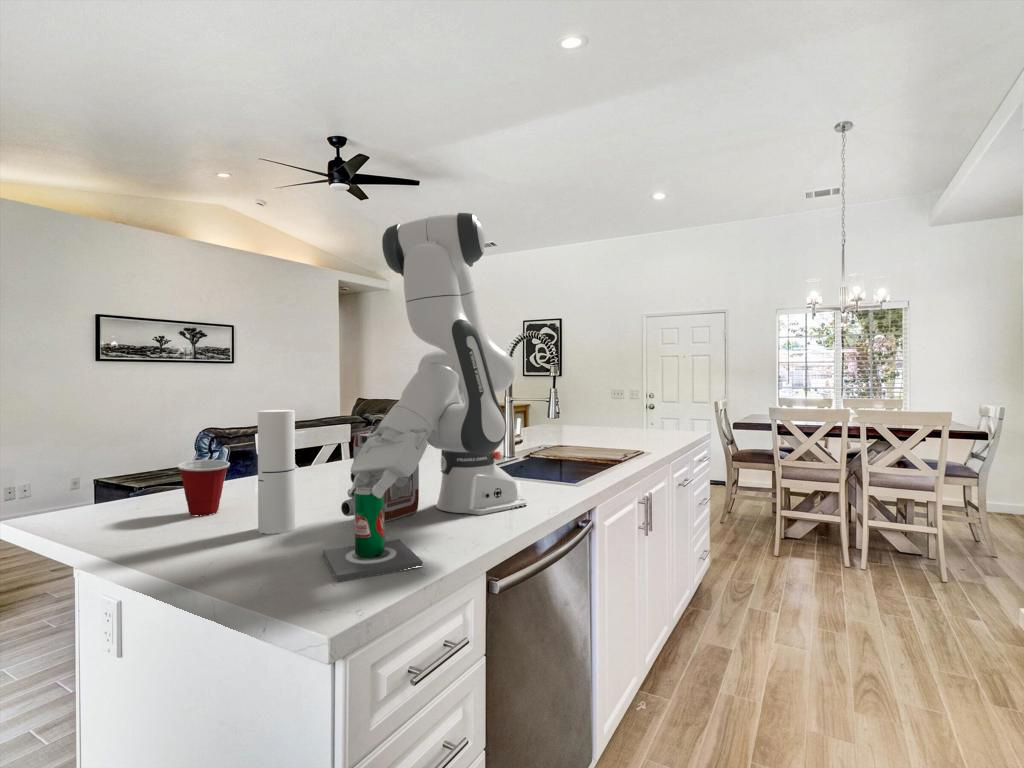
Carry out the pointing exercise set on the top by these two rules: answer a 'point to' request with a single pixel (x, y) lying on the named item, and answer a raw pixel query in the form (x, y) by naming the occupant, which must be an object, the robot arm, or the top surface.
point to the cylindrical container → (276, 471)
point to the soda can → (369, 523)
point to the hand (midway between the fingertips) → (363, 496)
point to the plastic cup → (203, 484)
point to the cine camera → (389, 490)
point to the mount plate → (370, 561)
